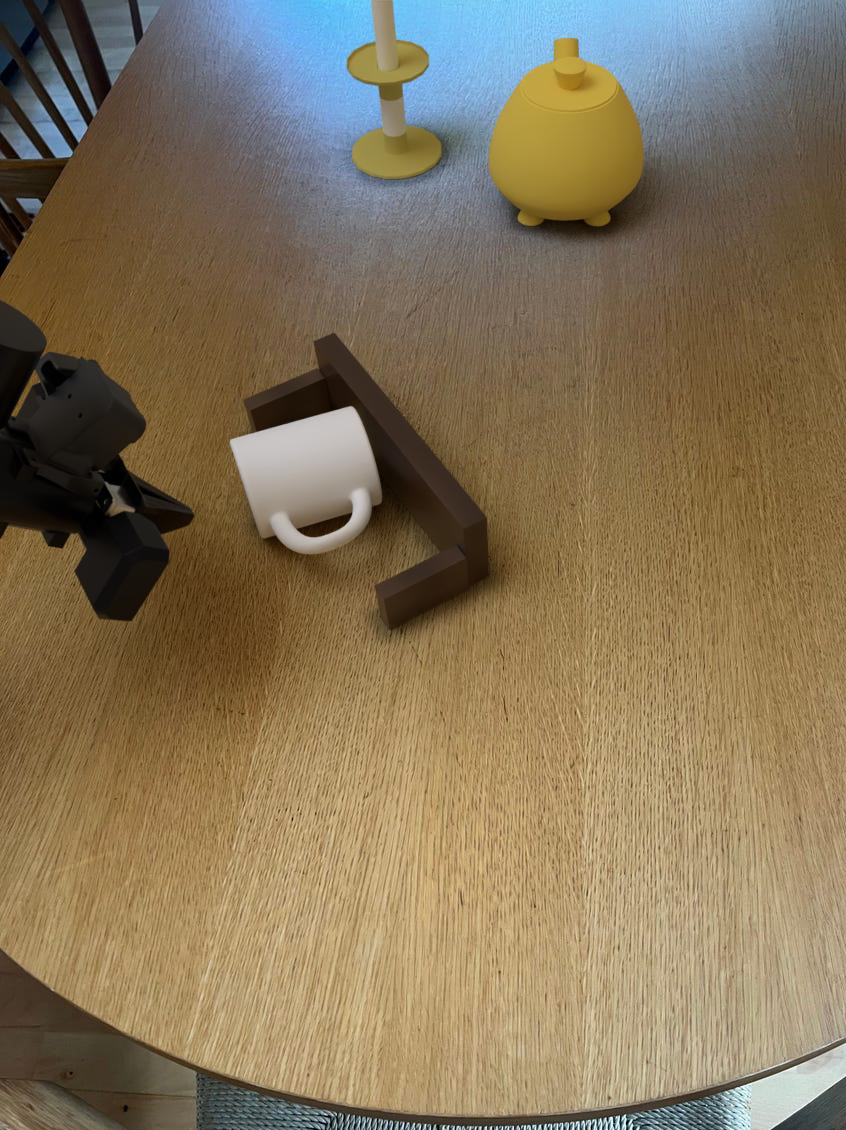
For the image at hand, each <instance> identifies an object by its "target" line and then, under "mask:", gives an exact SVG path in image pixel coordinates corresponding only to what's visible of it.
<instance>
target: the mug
mask: <svg viewBox="0 0 846 1130" xmlns="http://www.w3.org/2000/svg"><path fill="white" fill-rule="evenodd" d="M229 444H230V448H231V451H232V454H233V457H234V460H235V463H236V464H235V465H236V467H237V470H238V472H239V473H238V474H239V475H240V479H241V482H242V486H243V488H244V491H245V494H246V497H247V501H248V503H249V506H250V509H251V513H252V516H253V519H254V522H255V525H256V528H257V531H258V534H259V537H260V538H261V539H267V538H271V537H275V536H276V538H277V539H278V540H279V541H280V543H281V544H283V545H284V547H286V548H288V549H289V550H290V551H293V552H295V553H297V554H303V555H319V554H324V553H328V552H331V551H332V552H333V551H334V550H337V549H339V548H341V547H343V546H345V545H348V544H349V543H350V542H352V541H353V540H355V539H356V538H357V537H359V535H360V534H361V533H362V532H363V531H364V530H365V529H366V527H367V526H368V524H369V522H370V520H371V517H372V512H373V511H372V510H373V507H375V506H379V505H381V503H382V501H383V490H382V484H381V479H380V473H379V472H378V470H377V466H376V462H375V459H374V455H373V452H372V449H371V445H370V442H369V439H368V436H367V434H366V431H365V428H364V426H363V423H362V421H361V419H360V416H359V414H358V413H357V411H356V409H355V408H354V407H352V406H349V407H346V408H342V409H338V410H335V411H331V412H328V413H324V414H320V415H317V416H313V417H310V418H306V419H302V420H299V421H295V422H291V423H288V424H284V425H281V426H277V427H273V428H270V429H266V430H263V431H259V432H255V433H253V432H252V433H247V434H245V435H241V436H238V437H234V438H231V439H230V441H229ZM349 514H351V517H350V518H349V521H348V522H347V523H346V524H345V525H343V527H341V528H338V529H337V530H335V531H333V532H330V533H327V534H325V535H322V536H316V537H315V536H313V537H311V536H307V535H305V534H303V533H301V532H300V531H299V530H298V529H301V528H304V527H308V526H311V525H314V524H318V523H321V522H322V523H323V522H324V521H328V520H331V519H336V518H338V517H341V516H345V515H349Z"/></svg>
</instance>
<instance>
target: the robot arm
mask: <svg viewBox="0 0 846 1130" xmlns="http://www.w3.org/2000/svg"><path fill="white" fill-rule="evenodd" d="M47 341H48V340H47V337H46V335H45V333H44V332H43V331H42V330H41V329H40V327H39V326H38V325H37V324H36V323H35V322H34V321H33V320H32V319H31V318H29V317H28V316H27V315H25V314H24V313H23V312H21V311H20V310H19V309H17V308H16V307H14V306H12V305H11V304H9V303H7V302H6V301H3V300H2V299H0V540H1V539H2V538H3V536H4V534H5V532H6V531H7V529H8V527H11V528H17V529H23V530H28V531H35V532H40V533H41V535H42V537H43V540H44V542H45V544H46V545H47V547H50V548H55V549H56V548H57V549H61V550H62V549H63V548H64V547H65V545H66V543H67V542H68V540H69V538H70V536H71V534H73V535H77V536H78V538H79V540H80V542H81V543H82V545H83V547H84V549H85V552H83V553H84V554H83V555H82V557H81V558H80V560H79V562H78V563H77V565H76V567H75V569H74V574H75V576H76V577H77V579H78V582H79V584H80V585H81V587H82V589H83V592H84V594H85V595H86V598H87V599H88V602H89V604H90V606H91V608H92V609H93V611H94V613H95V615H96V617H97V618H98V619H99V620H104V621H105V620H106V621H115V622H116V621H117V622H133V620H134V619H135V617H136V615H137V614H138V612H139V611H140V609H141V608H142V606H143V604H144V603H145V602H146V600H147V598H148V597H149V595H150V593H152V590H153V589H154V587H155V585H156V584H157V582H158V581H159V579H160V578H161V576H162V575H163V574H164V571H165V570H166V569H167V567H168V565H169V563H170V551H171V550H170V549H169V547H168V545H167V543H166V541H165V539H164V538H163V536H162V535H166V534H168V533H170V532H174V531H177V530H180V529H183V528H186V527H188V526H189V525H191V524H192V521H193V520H194V518H195V517H196V515H195V513H194V512H193V509H192V508H191V507H190V506H188V505H187V504H185V503H183V502H182V501H180V500H178V499H176V498H175V497H173V496H171V495H170V494H168V493H166V492H164V491H163V490H161V489H159V488H158V487H157V486H154V485H152V484H151V483H150V482H148V481H146V480H145V479H142V478H141V477H140V476H138V475H136V474H135V473H133V472H131V471H130V470H128V468H127V466H126V464H125V462H124V460H123V458H122V456H121V454H120V453H122V452H123V451H124V450H125V449H126V448H127V447H128V446H129V445H132V444H135V443H136V442H137V441H139V440H140V439H141V438H142V437H143V435H144V434H145V432H146V430H147V429H146V428H147V421H146V418H145V416H144V414H142V413H141V412H140V410H139V409H138V407H137V405H136V404H135V402H134V400H133V399H132V396H131V393H130V392H129V391H128V390H126V388H124V387H123V386H121V385H120V384H119V383H118V382H116V381H115V380H114V379H112V378H111V377H110V376H109V375H107V374H106V373H105V372H104V369H103V368H102V367H101V364H99V362H98V360H96V359H94V358H90V359H87V358H84V357H83V356H80V357H79V358H78V357H76V356H73V355H69V354H64V353H60V352H54V351H47V352H46V353H45V354H44V352H45V350H46V348H47V345H48V342H47ZM43 354H44V355H43ZM34 372H35V373H36V375H37V378H38V380H39V382H37V383H35V384H32V385H31V387H30V389H29V390H28V393H27V395H26V396H25V398H24V401H23V402H22V404H21V407H20V408H19V410H18V412H17V413H16V416H14V415H13V413H14V411H15V410H16V407H17V406H18V403H19V402H20V399H21V396H22V395H23V393H24V392H25V389H26V387H27V385H28V384H29V381H30V380H31V378H32V376H33V374H34Z"/></svg>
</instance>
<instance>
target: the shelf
mask: <svg viewBox="0 0 846 1130" xmlns="http://www.w3.org/2000/svg"><path fill="white" fill-rule="evenodd" d="M313 346H314V353H315V357H316V362H317V366H318V367H317V368H314V369H312V370H309V371H307V372H304V373H302V374H300V375H298V376H295V377H293V378H290V379H288V380H286V381H284V382H281V383H278V384H277V385H274V386H272V387H269V388H267V389H264V390H262V391H260V392H258V393H255V394H253V395H251V396H248V397H246V398H244V399H242V401H243V405H244V407H245V412H246V414H247V418H248V422H249V424H250V428H251V431H252V433H255V432H259V431H263V430H266V429H270V428H273V427H277V426H281V425H284V424H288V423H291V422H295V421H299V420H302V419H306V418H310V417H313V416H317V415H320V414H324V413H328V412H331V411H335V410H338V409H342V408H346V407H349V406H352V407H354V408H355V409H356V411H357V413H358V414H359V416H360V419H361V421H362V423H363V426H364V428H365V431H366V434H367V436H368V439H369V442H370V445H371V449H372V452H373V455H374V459H375V462H376V466H377V470H378V474H379V475H380V476H381V477H382V478H383V480H384V482H386V484H387V485H388V486H389V487H390V489H391V490H392V492H393V493H394V494H395V495H396V497H397V498H398V500H400V502H401V503H402V504H403V506H404V508H405V509H406V510H407V511H408V512H409V513H410V514H411V516H412V518H413V519H414V520H415V521H416V522H417V524H418V525H419V527H420V528H421V529H422V530H423V531H424V533H425V534H426V536H427V537H428V538H429V539H430V540H431V542H432V543H433V545H434V546H435V547H436V548H437V550H438V551H439V553H436V554H435V555H432V556H431V557H429V558H427V559H425V560H423V561H421V562H418V563H417V564H415V565H413V566H411V567H409V568H407V569H405V570H403V571H401V572H399V573H397V574H395V575H393V576H390V577H389V578H387V579H385V580H383V581H381V582H379V583H377V584H375V585H374V590H375V595H376V601H377V605H378V610H379V616H380V619H381V620H382V622H383V623H384V624H385V625H386V627H387V628H388V630H389V631H391V630H392V629H395V628H397V627H398V626H401V625H402V624H404V623H406V622H408V621H410V620H412V619H414V618H416V617H418V616H420V615H421V614H424V613H425V612H427V611H429V610H431V609H433V608H435V607H437V606H439V605H441V604H443V603H445V602H447V601H449V600H451V599H453V598H455V597H457V596H458V595H461V594H463V593H464V592H466V591H469V588H470V587H471V586H472V585H475V584H476V583H478V582H480V581H482V580H484V579H486V578H488V577H490V566H489V562H490V561H489V537H488V536H489V535H488V533H489V531H488V530H489V529H488V517H487V515H486V514H485V513H484V511H482V509H481V508H480V507H479V506H478V504H477V503H476V502H475V501H474V499H473V498H472V497H471V495H469V494H468V493H467V491H466V490H465V489H464V488H463V486H462V485H461V484H460V483H459V481H458V480H457V478H455V476H453V474H452V472H450V470H449V469H448V468H447V467H446V465H444V463H443V462H442V461H441V460H440V458H439V457H438V456H437V454H435V453H434V451H433V450H432V449H431V447H430V446H429V445H428V444H427V443H426V441H425V440H424V439H423V438H422V437H421V435H420V434H419V433H418V432H417V430H416V429H415V428H414V427H413V426H412V425H411V423H410V422H409V421H408V420H407V419H406V417H405V416H404V415H403V414H402V413H401V411H400V410H399V409H398V407H397V406H396V405H395V404H394V402H393V401H392V400H391V399H390V398H389V397H388V395H387V394H386V393H385V392H384V391H383V389H382V388H381V387H380V386H379V385H378V383H377V382H376V381H375V380H374V378H373V377H372V376H371V375H370V374H369V372H368V371H367V370H366V369H365V368H364V366H363V365H362V364H361V363H360V362H359V360H358V359H357V357H356V356H354V354H353V353H352V352H351V351H350V350H349V348H348V347H347V345H346V344H345V343H344V342H343V341H342V340H341V338H340V337H339V336H338V334H336V333H335V332H332V333H330V334H327V335H325V336H322V337H320V338H318V339H315V340H313Z"/></svg>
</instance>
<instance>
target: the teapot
mask: <svg viewBox="0 0 846 1130" xmlns="http://www.w3.org/2000/svg"><path fill="white" fill-rule="evenodd" d="M644 159H645V151H644V140H643V136H642V130H641V126H640V123H639V119H638V116H637V114H636V112H635V110H634V108H633V105H632V103H631V101H630V99H629V97H628V96H627V94H626V92H625V90H624V88H623V86H622V85H621V83H620V82H619V81H618V80H617V78H616V76H615V75H614V74H613V73H612V72H610V71H609V70H608V69H607V68H605V67H603V66H601V65H599V64H596V63H594V62H591V61H590V62H589V61H586V60H584V59H583V58H581V57H580V45H579V39H578V38H575V37H561V38H557V39H555V40H553V61H549V62H545V63H542V64H540V65H537V66H536V67H534V68H532V69H531V70H530V71H528V72H526V74H525V75H524V76H523V77H522V78H521V79H520V81H519V82H518V84H516V85H515V88H514V90H513V91H512V93H511V94H510V96H509V97H508V98H507V100H506V102H505V104H504V105H503V107H502V110H501V111H500V113H499V115H498V117H497V120H496V122H495V125H494V128H493V132H492V135H491V139H490V145H489V149H488V171H489V176H490V178H491V180H492V182H493V184H494V186H495V188H496V189H497V190H498V191H499V192H500V193H501V194H502V195H503V197H505V198H506V200H508V201H509V202H510V203H511V204H512V205H513V206H514V207H516V208H517V209H519V210H520V211H519V213H518V215H517V221H518V222H519V223H520V224H522V225H524V226H527V227H535V226H539V225H541V224H542V223H543V222H544V221H545V220H552V221H578V220H583V221H584V223H586V224H587V225H589V226H593V227H602V226H605V225H608V224H609V223H610V221H611V215H610V213H609V211H610V210H611V209H613V208H614V207H615V206H617V205H618V204H619V203H621V202H622V201H623V200H625V198H626V197H627V196H628V195H630V193H632V191H633V190H634V189H635V188H636V187H637V185H638V183H639V181H640V179H641V177H642V174H643V171H644V162H645V161H644Z"/></svg>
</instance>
